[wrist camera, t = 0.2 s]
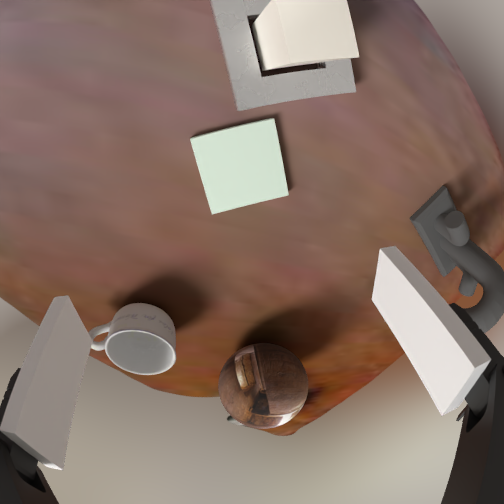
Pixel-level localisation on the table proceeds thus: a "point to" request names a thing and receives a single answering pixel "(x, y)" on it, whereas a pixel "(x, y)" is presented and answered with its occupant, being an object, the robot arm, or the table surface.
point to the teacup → (139, 339)
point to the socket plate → (247, 68)
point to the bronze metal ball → (263, 385)
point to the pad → (240, 165)
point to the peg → (304, 33)
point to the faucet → (461, 256)
